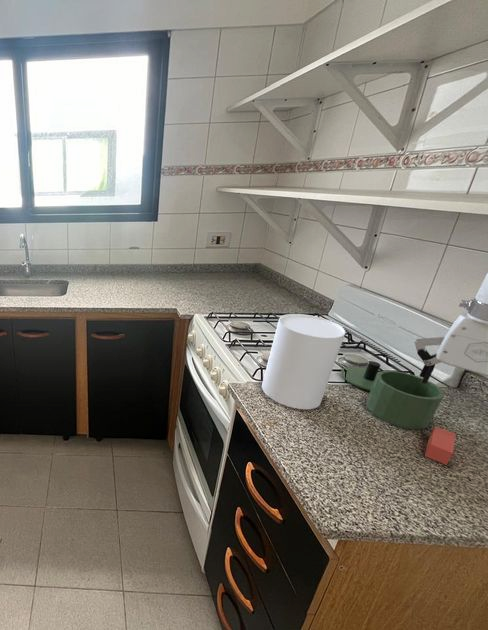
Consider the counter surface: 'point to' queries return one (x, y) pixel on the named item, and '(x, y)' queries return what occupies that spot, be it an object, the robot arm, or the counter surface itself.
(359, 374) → the tin lid
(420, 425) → the tin
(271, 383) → the canister
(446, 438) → the red rectangular block
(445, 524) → the counter surface
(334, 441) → the counter surface
